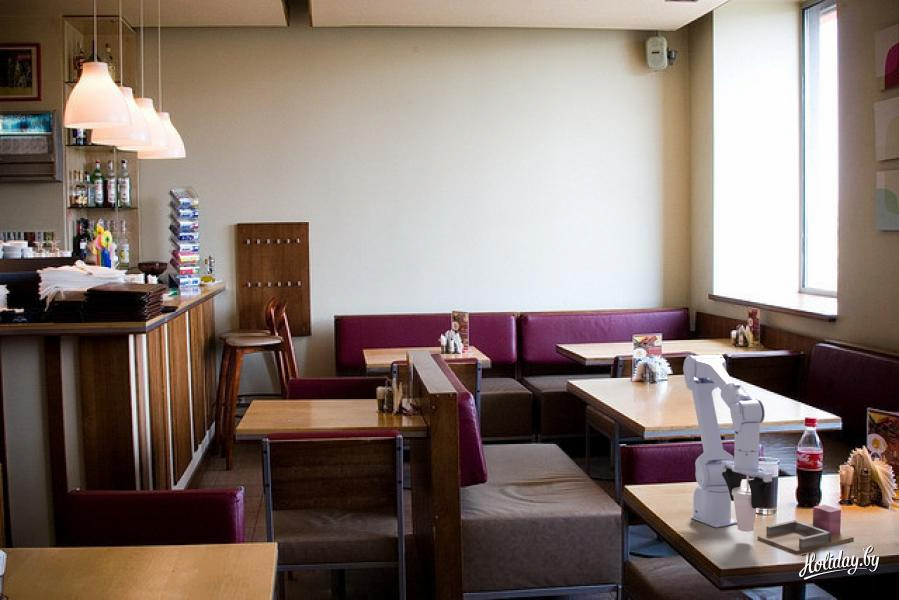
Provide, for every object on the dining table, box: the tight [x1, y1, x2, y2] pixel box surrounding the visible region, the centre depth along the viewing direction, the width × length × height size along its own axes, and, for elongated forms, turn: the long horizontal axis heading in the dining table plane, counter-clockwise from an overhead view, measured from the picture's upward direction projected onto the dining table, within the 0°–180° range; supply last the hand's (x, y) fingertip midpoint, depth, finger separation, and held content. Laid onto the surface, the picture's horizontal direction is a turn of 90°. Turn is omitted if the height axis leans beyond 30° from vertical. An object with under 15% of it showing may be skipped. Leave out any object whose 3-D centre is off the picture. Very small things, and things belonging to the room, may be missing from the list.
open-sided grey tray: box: [757, 504, 855, 555], centre depth 227 cm, size 12×20×7 cm, turn 118°
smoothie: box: [732, 475, 757, 533], centre depth 226 cm, size 6×6×14 cm
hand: (745, 503), depth 226 cm, fingers closed on smoothie, 6 cm apart
